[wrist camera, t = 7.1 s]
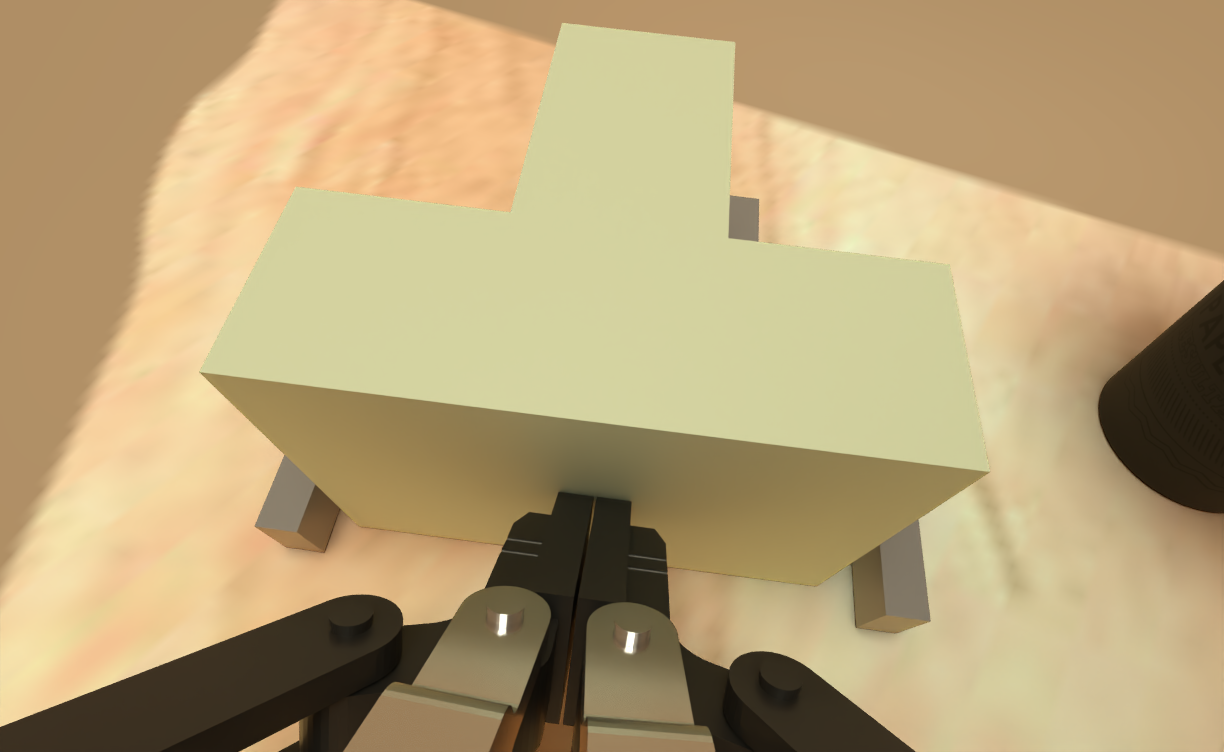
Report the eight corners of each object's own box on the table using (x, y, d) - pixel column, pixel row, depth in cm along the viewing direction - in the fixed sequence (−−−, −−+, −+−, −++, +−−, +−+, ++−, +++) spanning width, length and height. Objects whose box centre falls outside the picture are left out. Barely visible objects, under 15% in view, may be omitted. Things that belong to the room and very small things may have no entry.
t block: (803, 282, 21) (910, 61, 14) (816, 586, 16) (990, 472, 9) (452, 240, 22) (391, 3, 15) (358, 526, 17) (199, 372, 10)
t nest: (860, 251, 22) (881, 214, 21) (896, 633, 16) (930, 621, 14) (422, 196, 23) (410, 155, 21) (285, 546, 16) (254, 526, 15)
